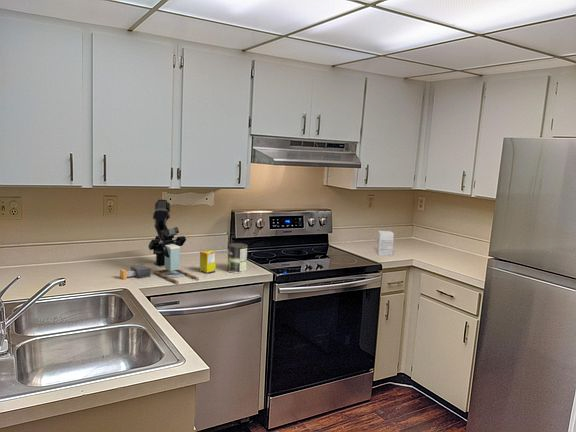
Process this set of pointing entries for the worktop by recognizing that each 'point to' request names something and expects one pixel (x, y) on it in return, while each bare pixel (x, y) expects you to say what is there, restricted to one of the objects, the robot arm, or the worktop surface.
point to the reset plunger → (126, 273)
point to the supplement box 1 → (207, 261)
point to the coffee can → (237, 257)
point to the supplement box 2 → (385, 243)
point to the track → (173, 275)
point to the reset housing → (141, 271)
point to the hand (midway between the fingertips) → (173, 256)
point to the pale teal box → (172, 257)
